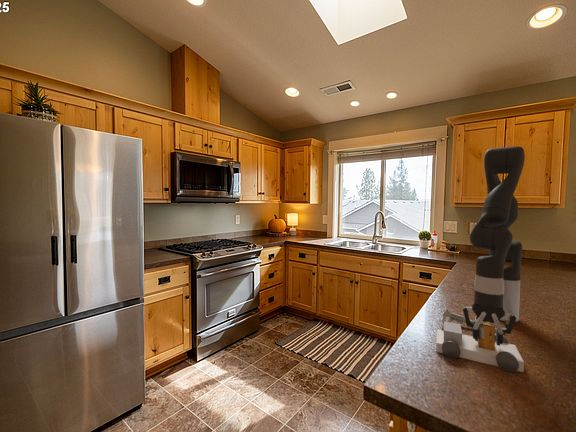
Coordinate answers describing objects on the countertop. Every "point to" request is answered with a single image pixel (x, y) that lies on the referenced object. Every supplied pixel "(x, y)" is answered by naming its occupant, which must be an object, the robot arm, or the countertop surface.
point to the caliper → (455, 317)
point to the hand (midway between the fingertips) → (486, 342)
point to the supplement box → (486, 336)
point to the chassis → (477, 349)
